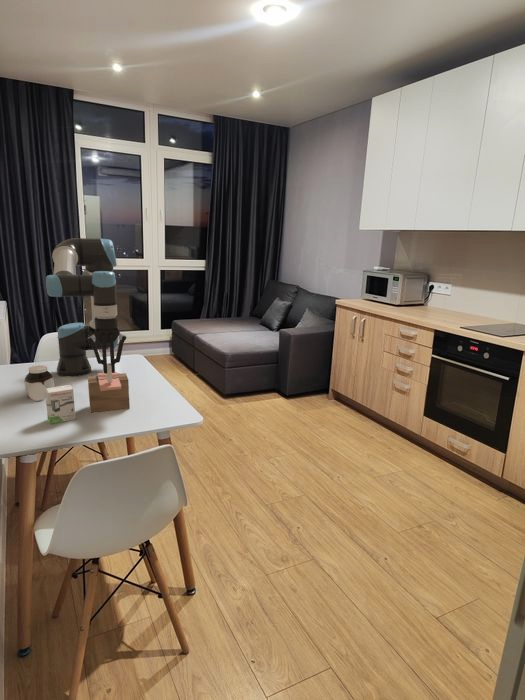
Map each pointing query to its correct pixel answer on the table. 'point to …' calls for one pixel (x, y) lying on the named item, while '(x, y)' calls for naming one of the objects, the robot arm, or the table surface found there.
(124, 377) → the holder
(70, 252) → the robot arm
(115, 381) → the stub
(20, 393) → the table surface
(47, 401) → the ink box
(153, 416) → the table surface
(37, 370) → the spread jar
